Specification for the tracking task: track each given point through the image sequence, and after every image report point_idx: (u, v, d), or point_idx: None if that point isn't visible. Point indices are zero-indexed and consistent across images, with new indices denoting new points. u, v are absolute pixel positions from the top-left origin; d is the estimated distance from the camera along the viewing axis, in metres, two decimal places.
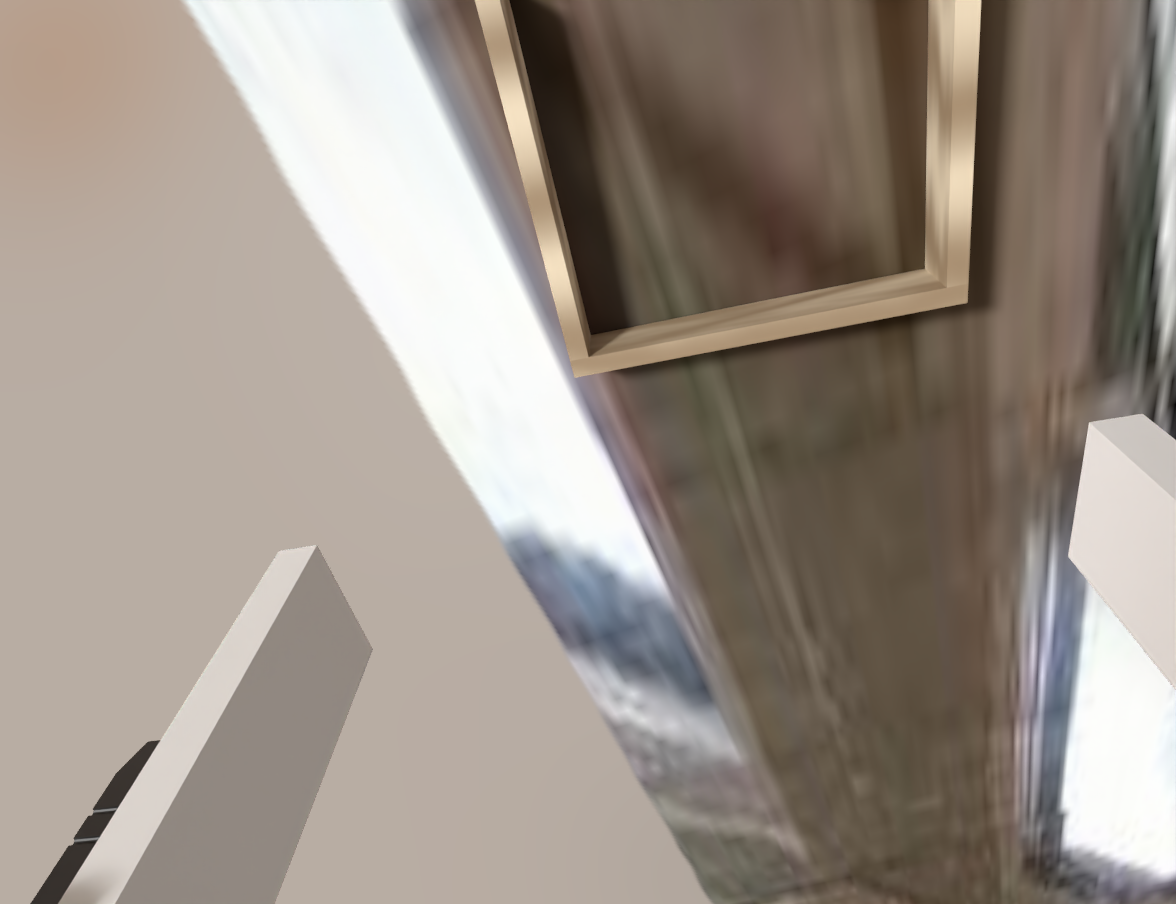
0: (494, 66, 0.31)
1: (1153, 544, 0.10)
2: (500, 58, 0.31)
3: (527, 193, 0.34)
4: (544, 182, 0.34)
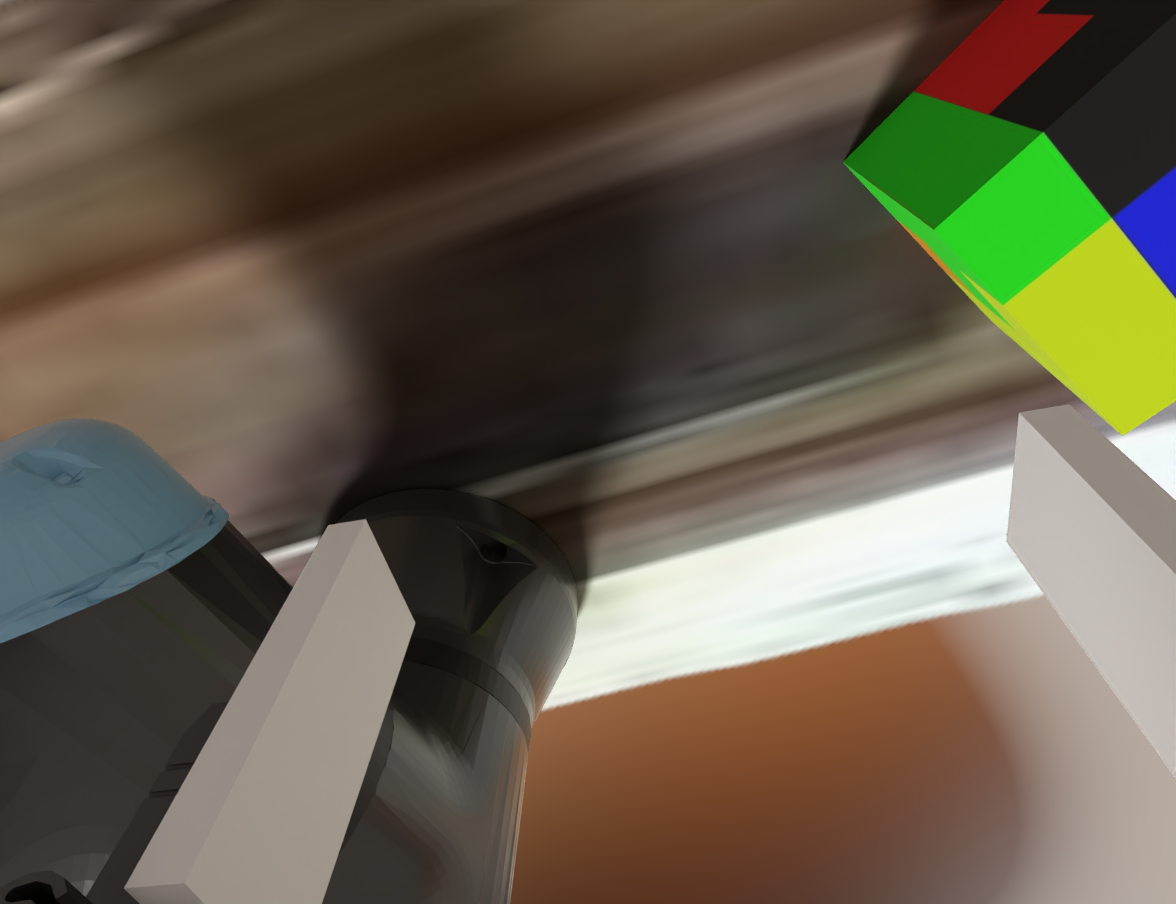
0: None
1: (1072, 526, 0.11)
2: None
3: None
4: None
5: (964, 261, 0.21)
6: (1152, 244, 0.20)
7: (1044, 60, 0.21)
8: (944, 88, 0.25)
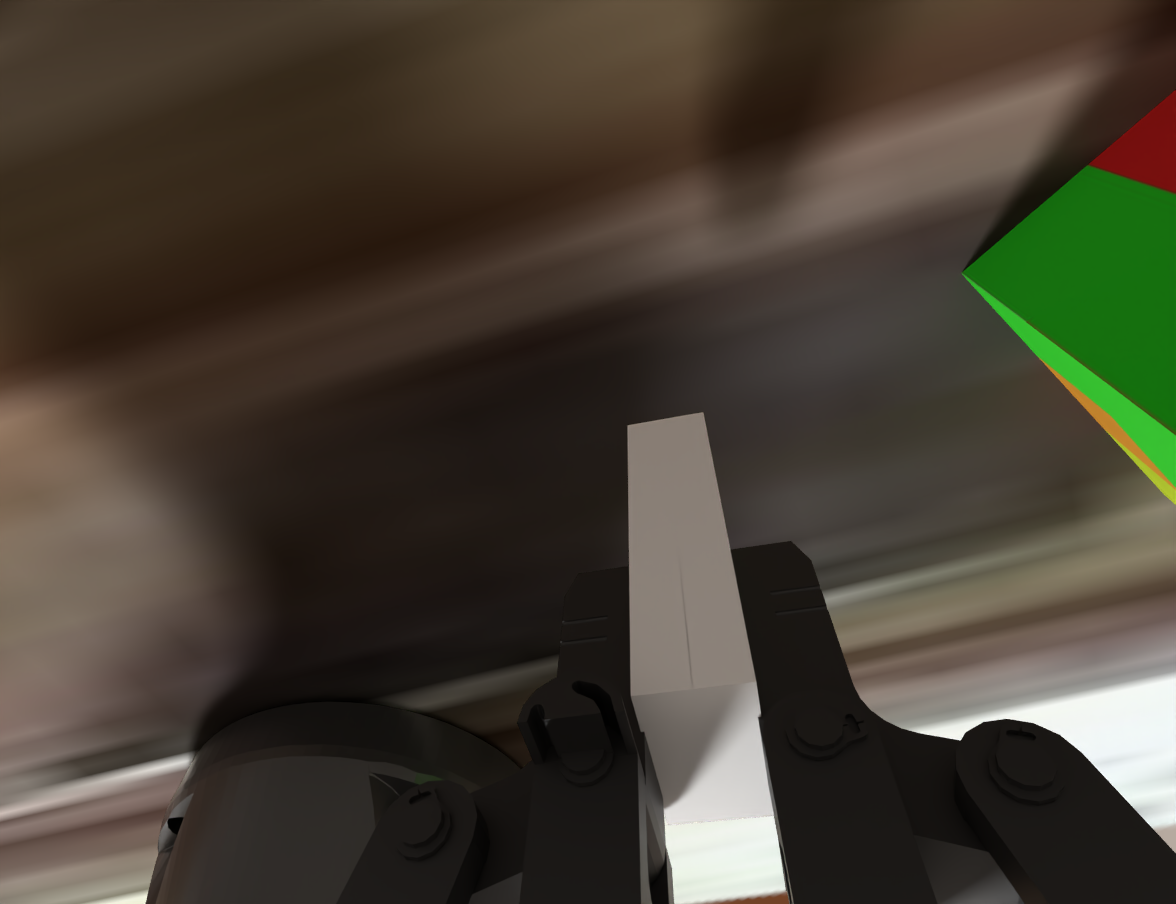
0: None
1: None
2: None
3: None
4: None
5: None
6: None
7: None
8: (1168, 169, 0.14)
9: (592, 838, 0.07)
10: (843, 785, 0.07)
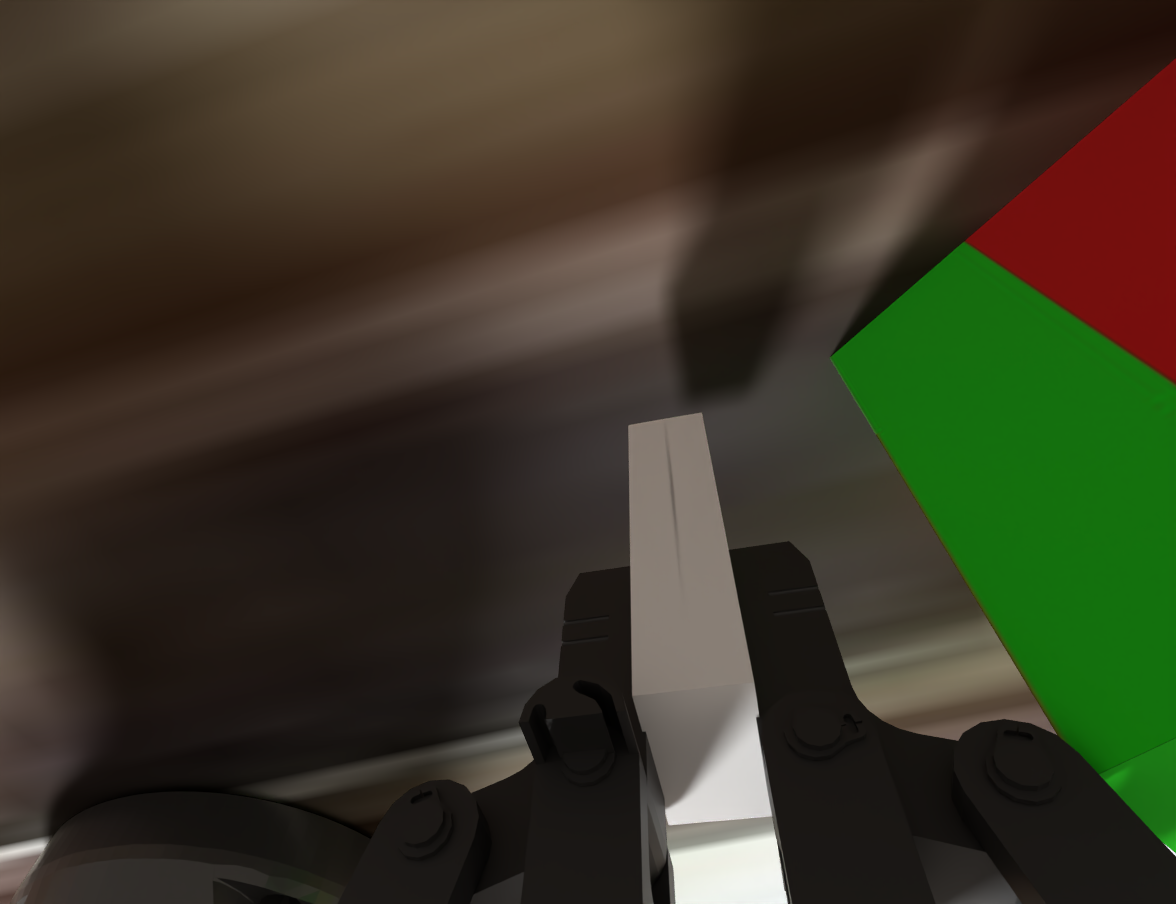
0: None
1: None
2: None
3: None
4: None
5: (1160, 837, 0.07)
6: None
7: None
8: (1039, 260, 0.12)
9: (594, 838, 0.07)
10: (842, 785, 0.07)
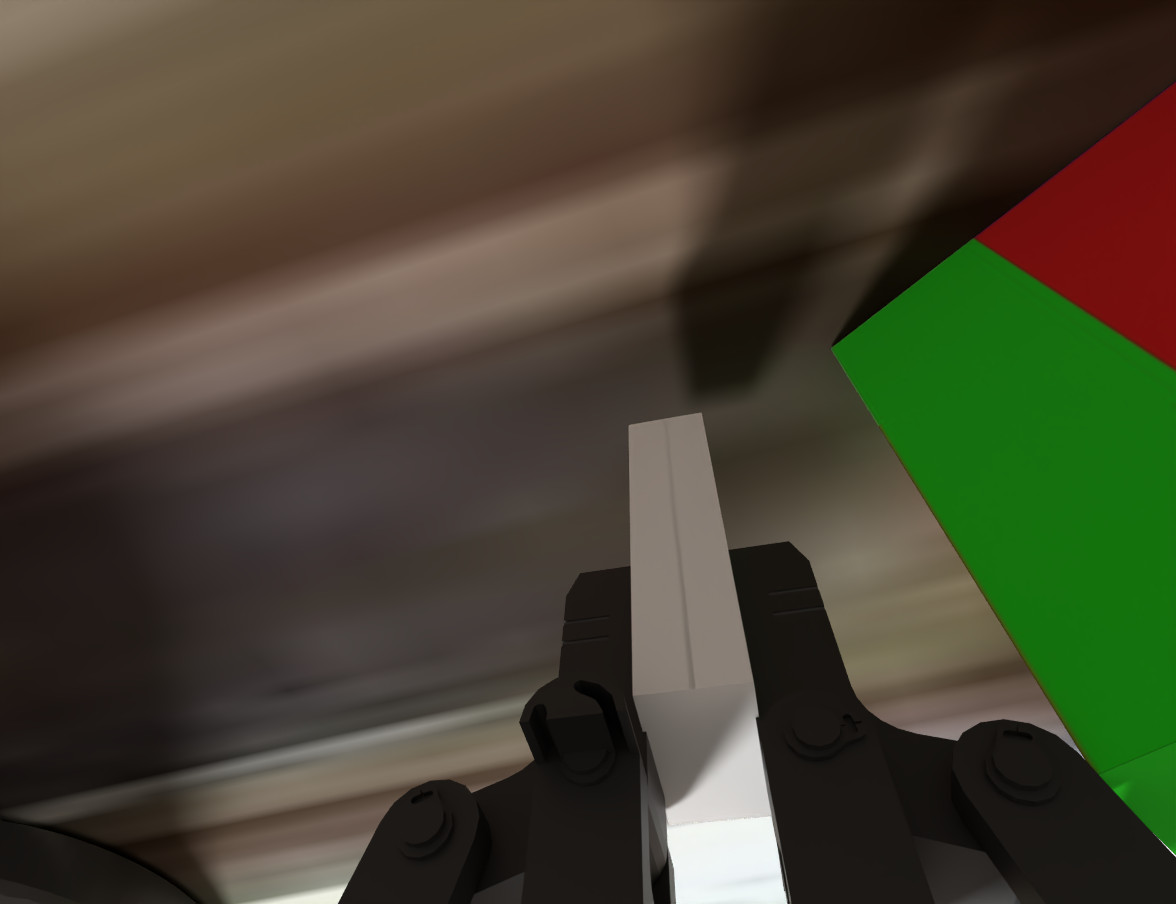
0: None
1: None
2: None
3: None
4: None
5: (1161, 838, 0.07)
6: None
7: None
8: (1052, 258, 0.12)
9: (594, 838, 0.07)
10: (841, 785, 0.07)
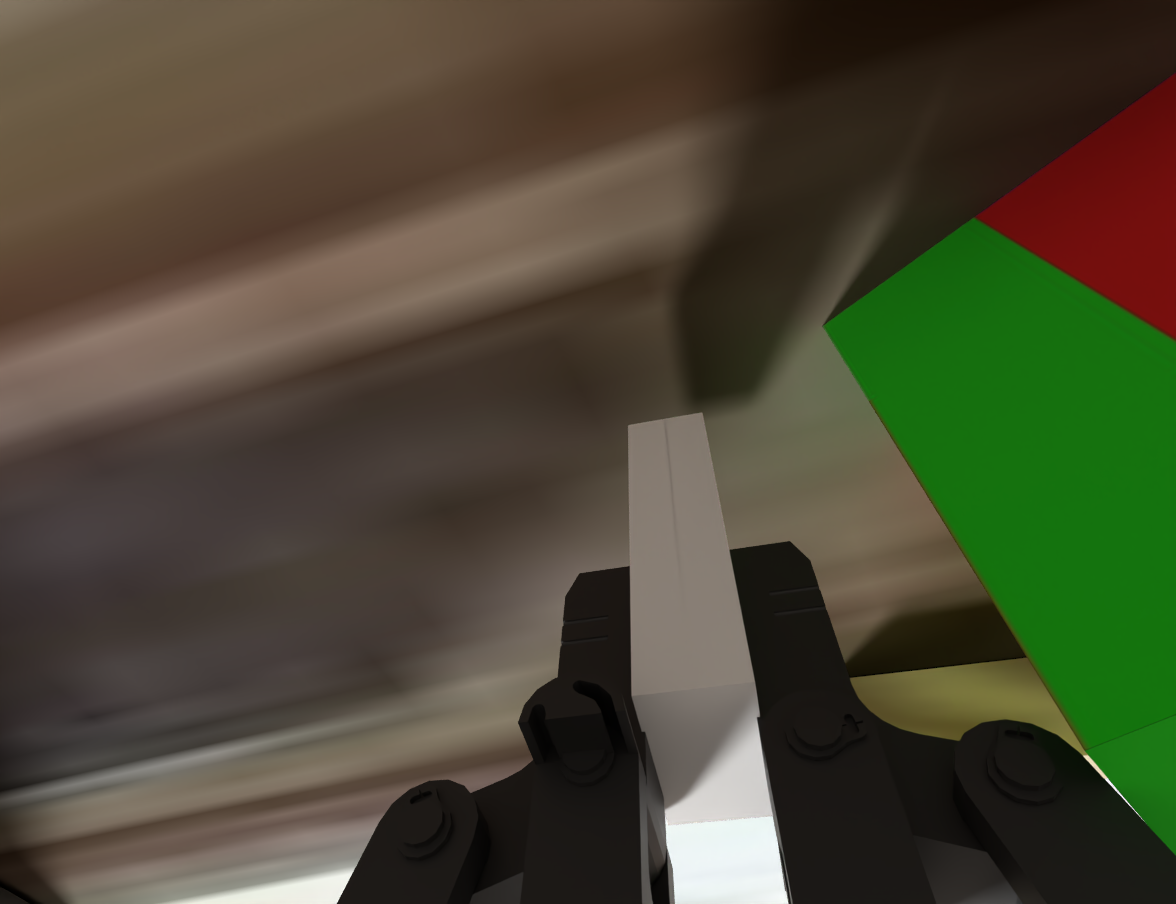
0: None
1: None
2: None
3: None
4: None
5: (1148, 821, 0.07)
6: None
7: None
8: (1055, 236, 0.12)
9: (593, 838, 0.07)
10: (842, 785, 0.07)
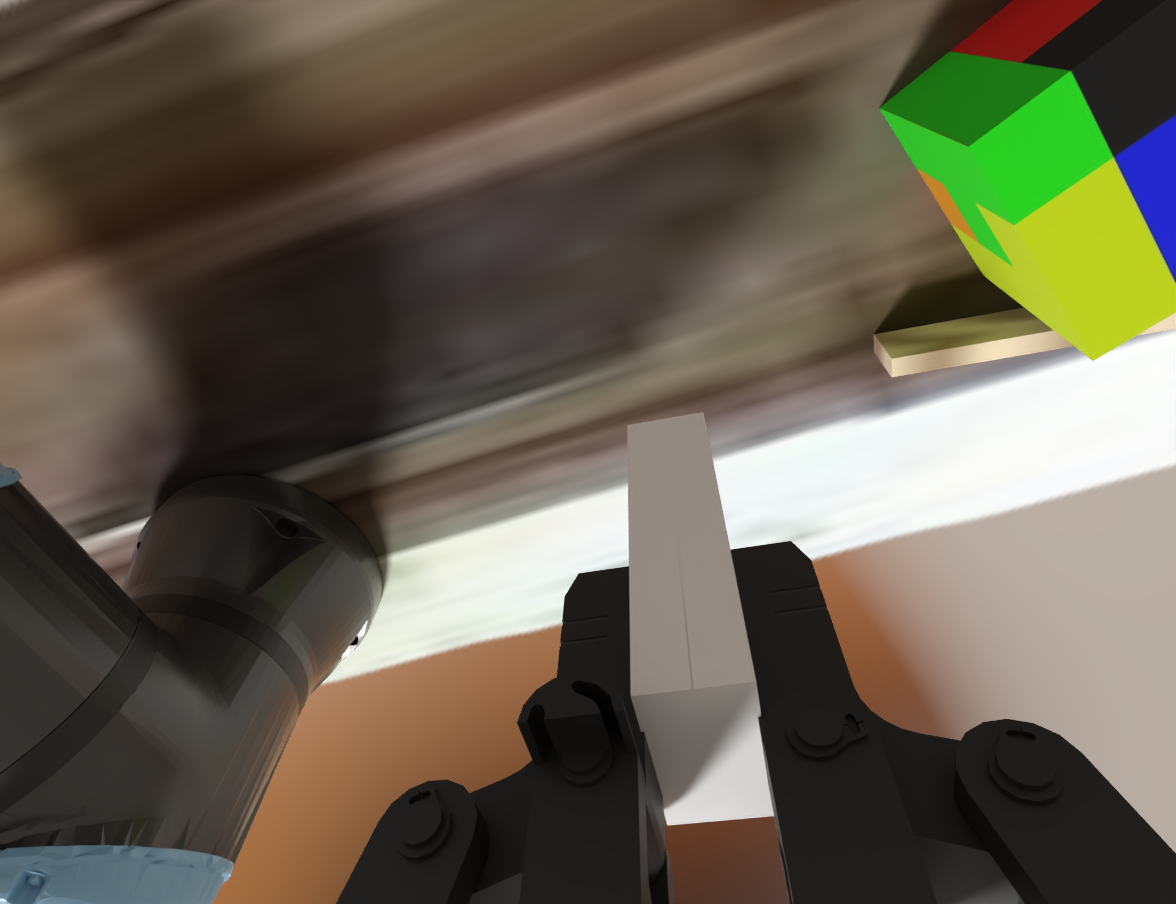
0: (954, 364, 0.35)
1: None
2: (949, 359, 0.35)
3: None
4: None
5: (989, 179, 0.24)
6: (1142, 185, 0.24)
7: (1074, 20, 0.24)
8: (979, 47, 0.29)
9: (592, 838, 0.07)
10: (843, 785, 0.07)
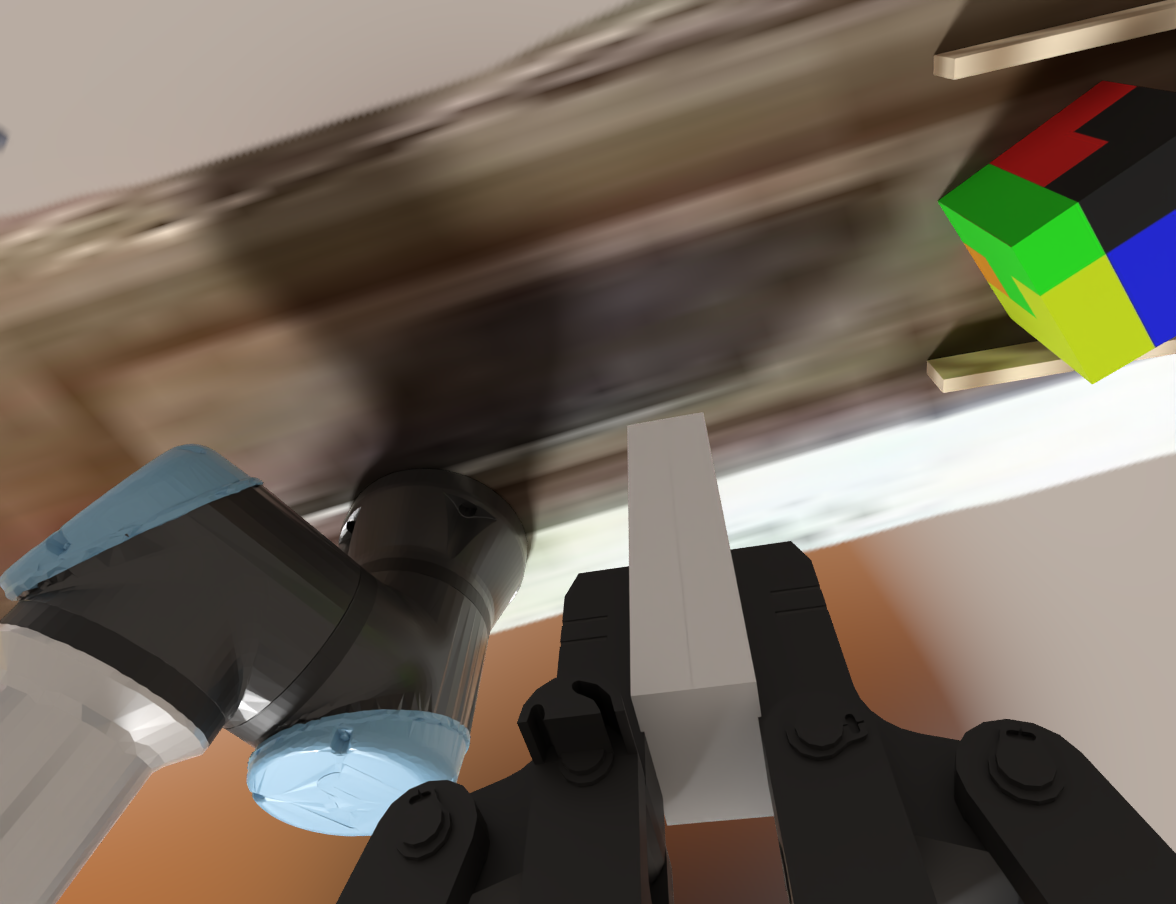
0: (989, 384, 0.47)
1: None
2: (985, 380, 0.47)
3: None
4: None
5: (1024, 267, 0.36)
6: (1124, 271, 0.36)
7: (1078, 161, 0.37)
8: (1012, 165, 0.41)
9: (592, 838, 0.07)
10: (844, 785, 0.07)
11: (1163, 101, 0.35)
